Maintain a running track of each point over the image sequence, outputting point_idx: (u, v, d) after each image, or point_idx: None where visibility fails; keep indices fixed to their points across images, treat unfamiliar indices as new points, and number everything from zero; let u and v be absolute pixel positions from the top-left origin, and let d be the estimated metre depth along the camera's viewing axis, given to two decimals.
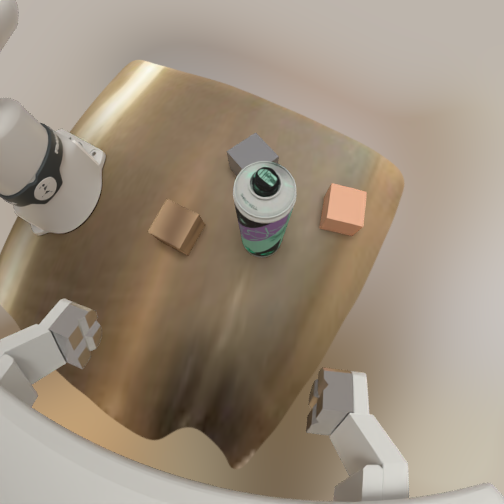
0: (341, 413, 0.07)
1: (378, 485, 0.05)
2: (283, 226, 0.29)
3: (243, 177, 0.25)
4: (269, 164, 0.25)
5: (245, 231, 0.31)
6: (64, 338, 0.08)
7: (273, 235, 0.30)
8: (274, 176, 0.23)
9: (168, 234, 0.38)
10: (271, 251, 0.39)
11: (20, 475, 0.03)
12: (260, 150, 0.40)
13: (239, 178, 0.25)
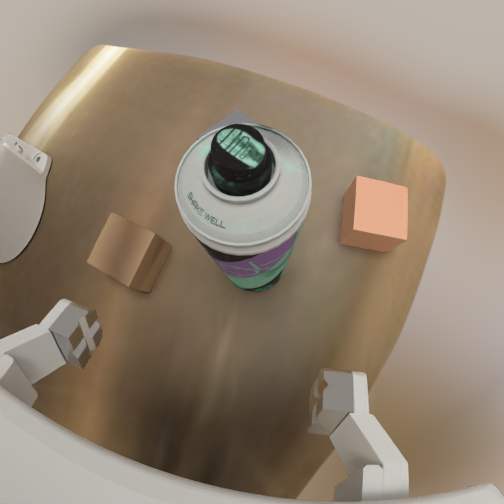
0: (341, 413, 0.07)
1: (378, 485, 0.05)
2: (286, 253, 0.15)
3: (194, 158, 0.11)
4: None
5: None
6: (64, 338, 0.08)
7: (269, 269, 0.17)
8: (258, 144, 0.09)
9: (113, 264, 0.24)
10: (269, 285, 0.25)
11: (20, 475, 0.03)
12: None
13: (187, 161, 0.11)
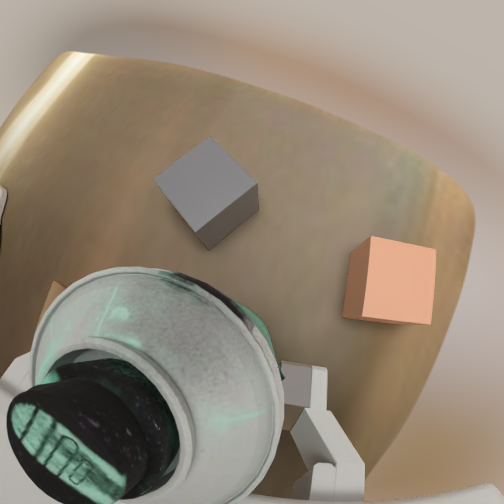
0: (296, 407, 0.08)
1: (329, 485, 0.05)
2: None
3: (40, 360, 0.04)
4: (140, 289, 0.05)
5: None
6: None
7: None
8: (104, 462, 0.02)
9: None
10: None
11: (20, 475, 0.03)
12: (219, 172, 0.19)
13: (38, 351, 0.05)
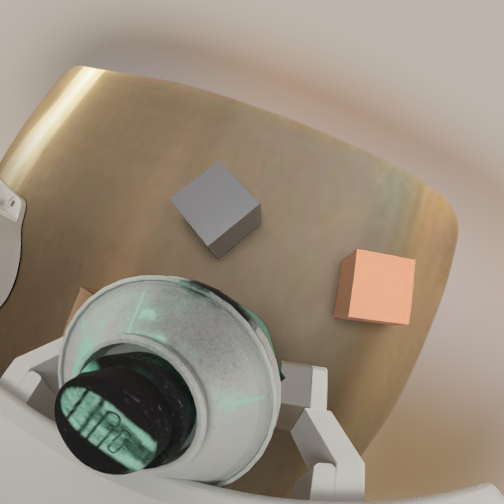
0: (297, 407, 0.08)
1: (329, 485, 0.05)
2: None
3: (73, 354, 0.05)
4: (165, 294, 0.06)
5: None
6: None
7: None
8: (141, 431, 0.03)
9: None
10: None
11: (20, 475, 0.03)
12: (227, 194, 0.23)
13: (69, 346, 0.06)
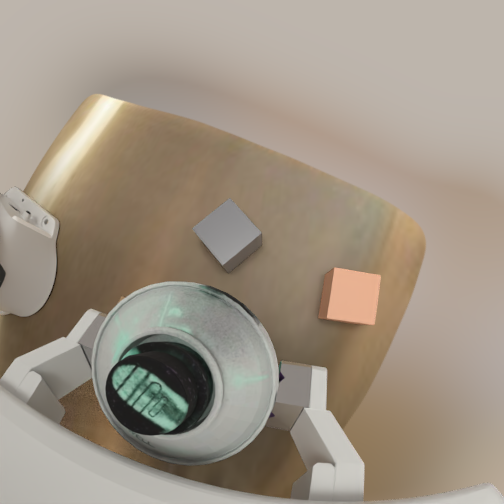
0: (296, 407, 0.08)
1: (328, 485, 0.05)
2: None
3: (109, 346, 0.07)
4: (187, 296, 0.08)
5: None
6: None
7: None
8: (177, 396, 0.05)
9: None
10: None
11: (20, 475, 0.03)
12: (236, 225, 0.30)
13: (103, 340, 0.08)
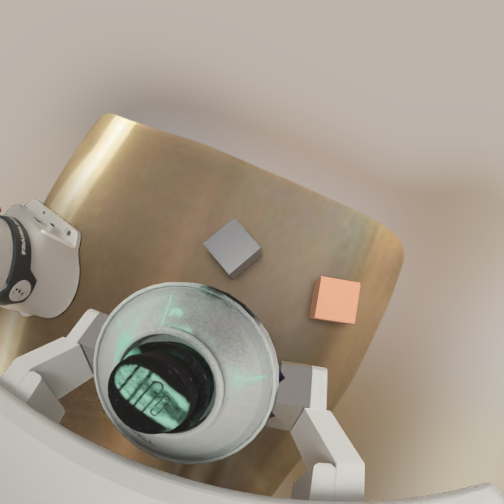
0: (296, 407, 0.08)
1: (329, 485, 0.05)
2: None
3: (111, 346, 0.07)
4: (188, 296, 0.08)
5: None
6: None
7: None
8: (178, 395, 0.05)
9: None
10: None
11: (20, 475, 0.03)
12: (240, 241, 0.37)
13: (105, 340, 0.08)
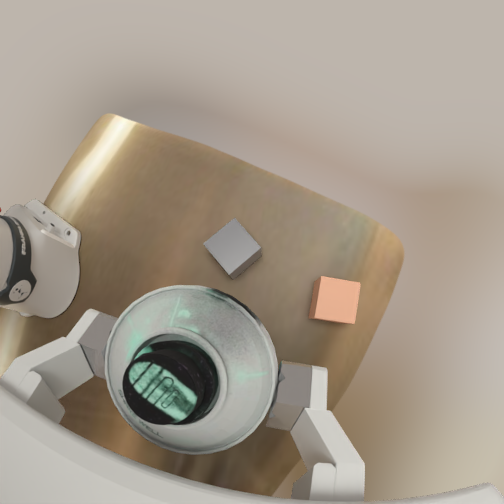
0: (296, 407, 0.08)
1: (329, 485, 0.05)
2: None
3: (122, 344, 0.08)
4: (195, 299, 0.08)
5: None
6: (96, 352, 0.08)
7: None
8: (187, 389, 0.06)
9: None
10: None
11: (20, 475, 0.03)
12: (240, 241, 0.37)
13: (116, 339, 0.08)
